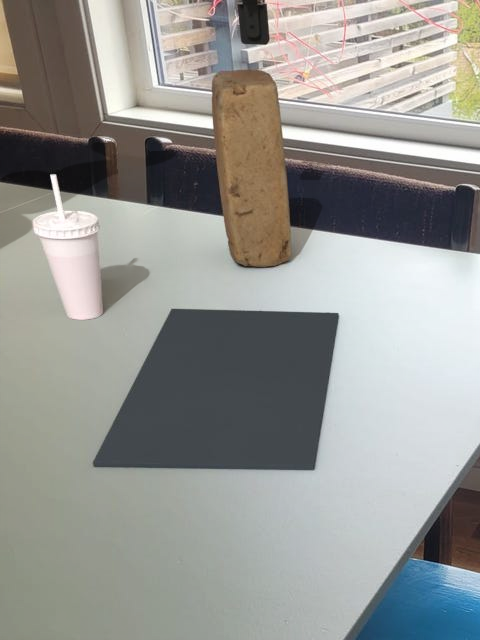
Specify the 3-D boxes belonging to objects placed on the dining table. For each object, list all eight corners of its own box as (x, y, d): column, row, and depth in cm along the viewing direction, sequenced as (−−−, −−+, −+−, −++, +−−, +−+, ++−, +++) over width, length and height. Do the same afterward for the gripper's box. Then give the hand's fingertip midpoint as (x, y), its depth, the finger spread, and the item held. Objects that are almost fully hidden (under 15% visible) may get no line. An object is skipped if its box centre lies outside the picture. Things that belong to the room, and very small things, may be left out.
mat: (93, 466, 82) (92, 462, 81) (172, 312, 108) (171, 308, 108) (314, 470, 83) (313, 465, 83) (338, 316, 109) (338, 312, 109)
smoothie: (42, 321, 104) (8, 179, 96) (70, 299, 109) (40, 162, 101) (100, 327, 104) (72, 184, 95) (126, 305, 109) (101, 168, 100)
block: (295, 269, 120) (282, 82, 108) (232, 272, 118) (212, 83, 106) (282, 240, 128) (269, 64, 116) (223, 243, 126) (203, 64, 114)
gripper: (213, -156, 113) (232, 32, 124) (190, -153, 101) (214, 53, 113) (280, -153, 113) (293, 34, 125) (264, -150, 102) (280, 55, 113)
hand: (255, 42), depth 119 cm, fingers closed
